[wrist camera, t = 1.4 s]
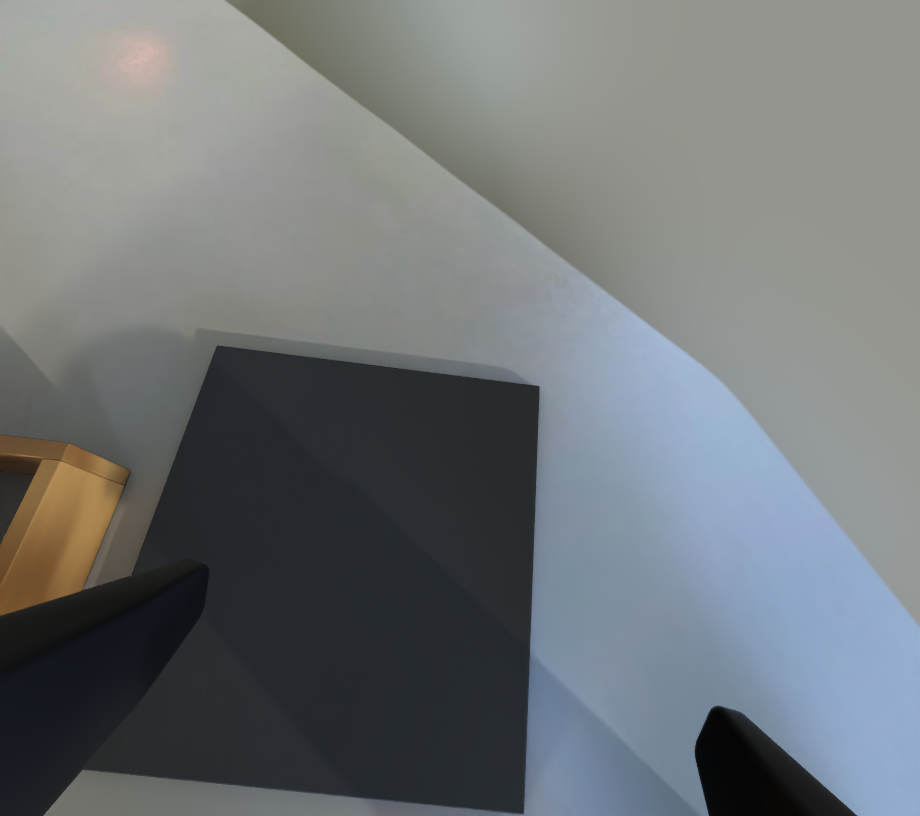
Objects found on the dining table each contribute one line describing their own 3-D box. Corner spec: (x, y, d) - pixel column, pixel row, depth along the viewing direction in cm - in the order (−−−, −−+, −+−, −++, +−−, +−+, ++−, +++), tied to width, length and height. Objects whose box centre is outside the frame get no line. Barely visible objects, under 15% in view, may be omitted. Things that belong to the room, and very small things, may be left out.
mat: (521, 810, 19) (524, 815, 19) (67, 764, 19) (59, 767, 18) (537, 389, 27) (539, 386, 27) (220, 349, 27) (216, 344, 26)
